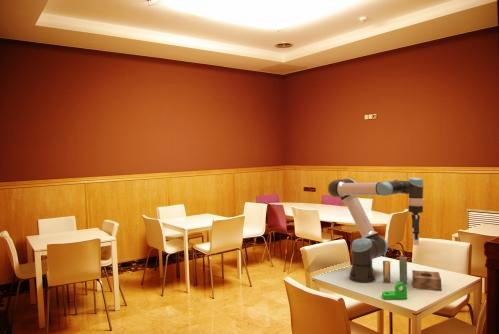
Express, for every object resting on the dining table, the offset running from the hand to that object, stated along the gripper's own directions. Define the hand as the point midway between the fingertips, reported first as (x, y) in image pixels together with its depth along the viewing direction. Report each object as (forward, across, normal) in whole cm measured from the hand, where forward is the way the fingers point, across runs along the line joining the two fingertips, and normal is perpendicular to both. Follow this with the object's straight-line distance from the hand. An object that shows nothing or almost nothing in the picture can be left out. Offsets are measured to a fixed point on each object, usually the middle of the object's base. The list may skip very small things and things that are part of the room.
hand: (415, 242), depth 218 cm
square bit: (+24, -1, +6) cm, 25 cm away
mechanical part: (+25, -23, +12) cm, 36 cm away
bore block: (+24, -1, -6) cm, 25 cm away
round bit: (+25, 0, +15) cm, 29 cm away
